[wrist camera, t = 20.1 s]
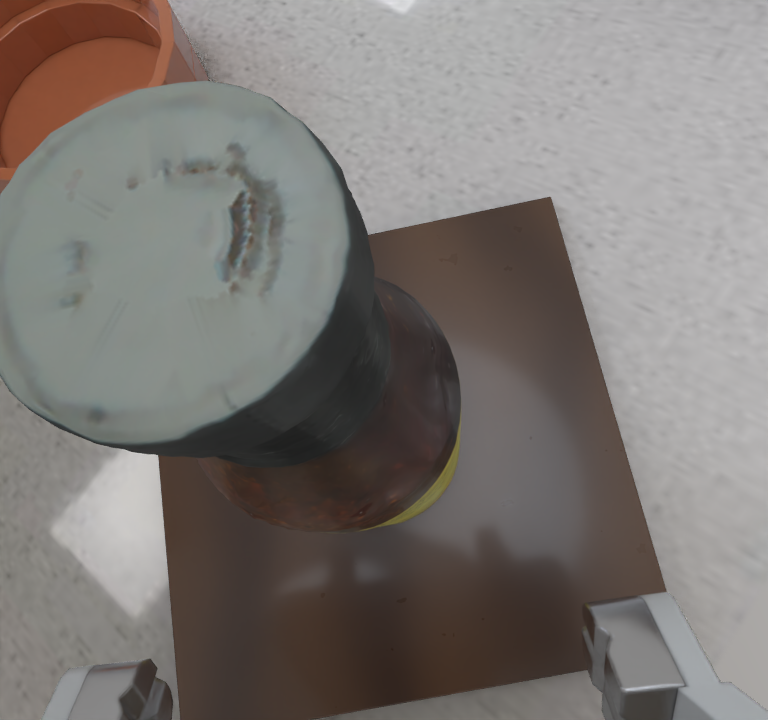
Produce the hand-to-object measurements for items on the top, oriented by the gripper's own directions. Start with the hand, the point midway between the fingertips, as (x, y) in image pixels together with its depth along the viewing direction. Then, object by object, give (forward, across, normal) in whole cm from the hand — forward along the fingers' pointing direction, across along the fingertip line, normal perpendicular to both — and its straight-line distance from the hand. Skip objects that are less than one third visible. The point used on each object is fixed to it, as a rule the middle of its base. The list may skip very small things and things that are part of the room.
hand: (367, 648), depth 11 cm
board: (+13, 0, +6) cm, 15 cm away
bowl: (+27, +13, -8) cm, 31 cm away
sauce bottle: (+13, 0, +6) cm, 14 cm away
